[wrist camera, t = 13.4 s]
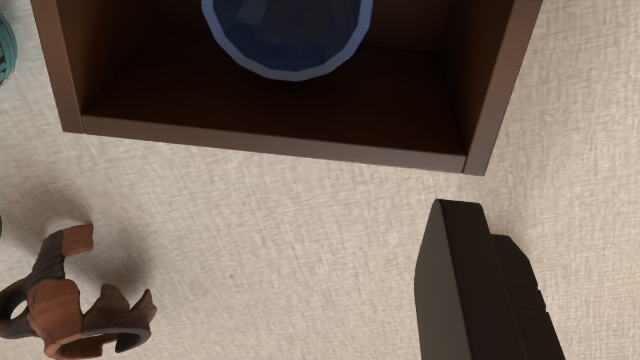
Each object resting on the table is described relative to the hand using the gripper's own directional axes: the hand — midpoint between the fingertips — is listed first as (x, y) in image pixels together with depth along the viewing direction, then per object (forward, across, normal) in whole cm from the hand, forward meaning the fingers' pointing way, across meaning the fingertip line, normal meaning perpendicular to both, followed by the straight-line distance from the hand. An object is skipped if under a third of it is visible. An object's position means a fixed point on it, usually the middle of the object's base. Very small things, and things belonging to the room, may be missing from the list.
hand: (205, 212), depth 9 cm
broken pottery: (+21, +15, +26) cm, 37 cm away
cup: (+20, 0, 0) cm, 20 cm away
